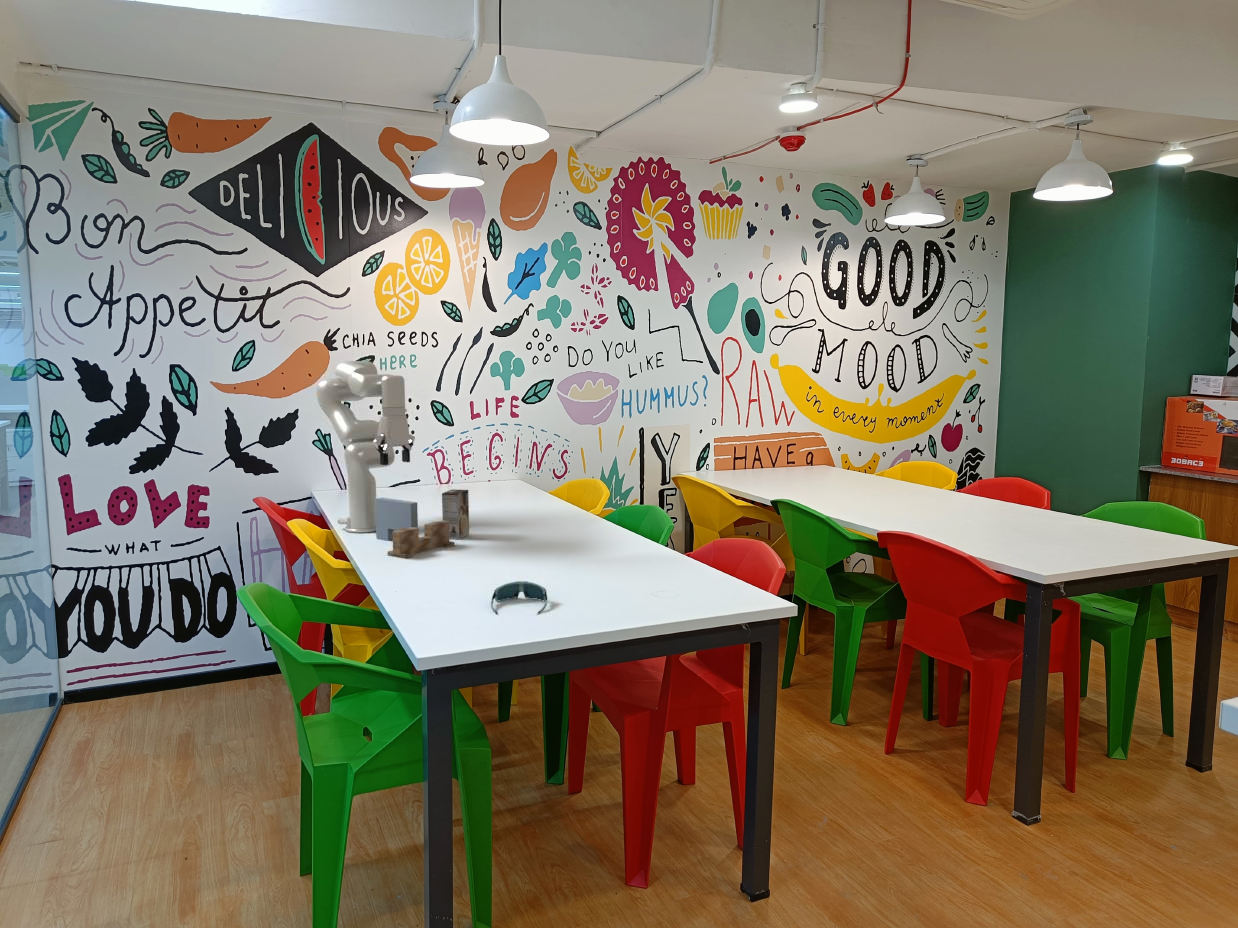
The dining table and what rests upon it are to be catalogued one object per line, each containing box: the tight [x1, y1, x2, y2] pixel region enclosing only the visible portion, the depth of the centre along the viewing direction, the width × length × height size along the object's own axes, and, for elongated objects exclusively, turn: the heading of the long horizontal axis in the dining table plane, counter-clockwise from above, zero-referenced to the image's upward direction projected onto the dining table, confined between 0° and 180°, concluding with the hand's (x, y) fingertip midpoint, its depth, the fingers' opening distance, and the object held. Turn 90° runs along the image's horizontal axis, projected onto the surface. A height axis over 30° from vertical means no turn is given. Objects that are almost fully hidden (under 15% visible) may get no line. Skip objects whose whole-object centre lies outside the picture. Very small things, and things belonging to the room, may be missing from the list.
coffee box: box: [441, 488, 470, 540], centre depth 297 cm, size 9×6×16 cm
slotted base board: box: [387, 519, 456, 560], centre depth 277 cm, size 22×8×8 cm, turn 147°
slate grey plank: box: [375, 497, 419, 542], centre depth 290 cm, size 17×3×14 cm, turn 57°
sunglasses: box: [490, 580, 548, 615], centre depth 217 cm, size 14×15×5 cm
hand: (395, 463), depth 287 cm, fingers open, 9 cm apart
